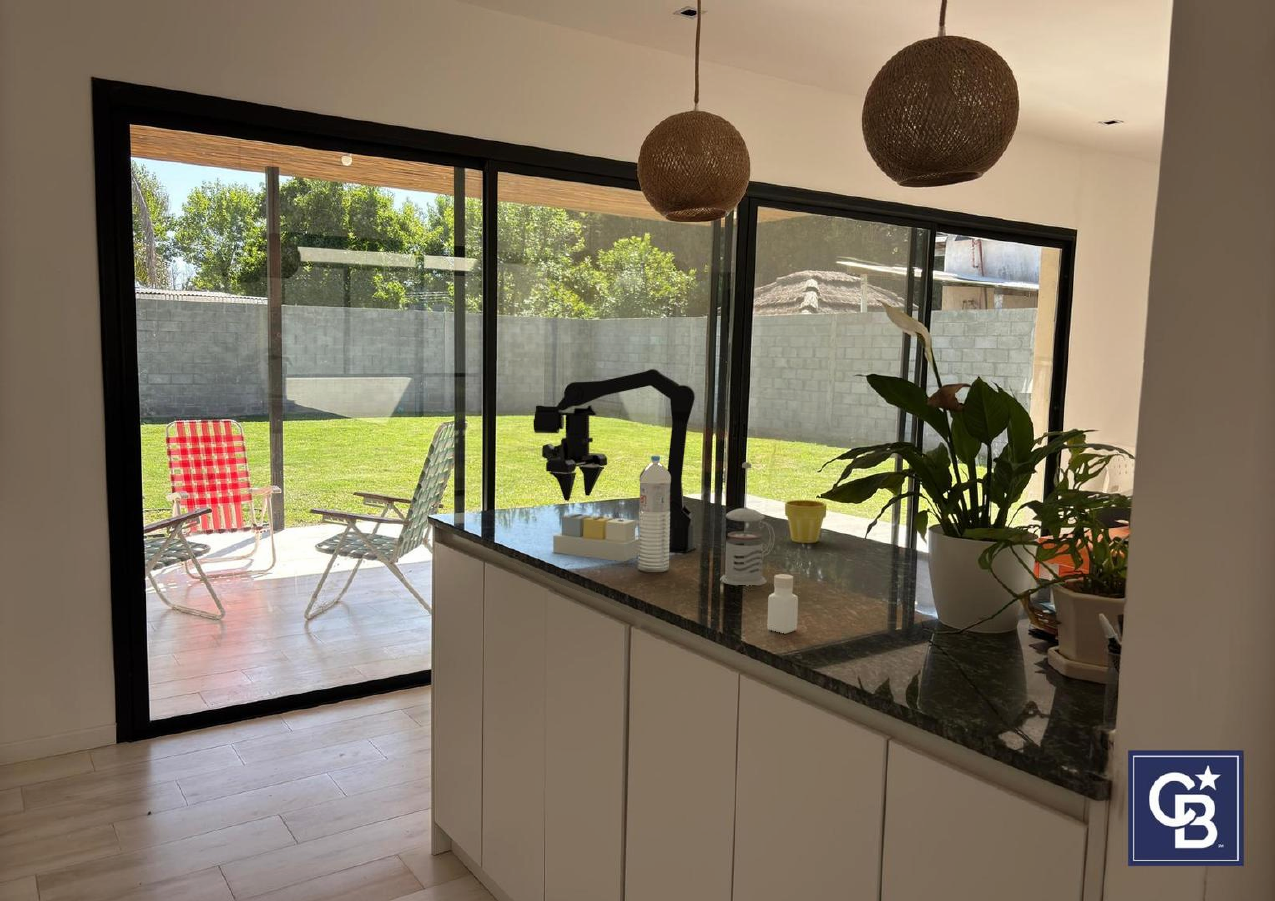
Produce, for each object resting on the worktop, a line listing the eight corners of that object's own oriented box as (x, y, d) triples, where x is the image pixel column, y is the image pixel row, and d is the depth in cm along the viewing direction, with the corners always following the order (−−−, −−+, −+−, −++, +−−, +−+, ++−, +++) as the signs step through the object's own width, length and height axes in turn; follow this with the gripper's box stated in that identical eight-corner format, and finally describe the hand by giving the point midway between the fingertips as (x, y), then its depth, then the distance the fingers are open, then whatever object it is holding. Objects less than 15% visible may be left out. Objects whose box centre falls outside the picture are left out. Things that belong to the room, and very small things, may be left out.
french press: (712, 576, 200) (715, 460, 197) (760, 572, 204) (764, 458, 201) (732, 587, 190) (736, 465, 188) (782, 583, 195) (787, 464, 192)
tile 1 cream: (635, 541, 218) (635, 519, 218) (624, 545, 214) (625, 522, 213) (616, 539, 221) (616, 517, 220) (605, 542, 216) (606, 520, 216)
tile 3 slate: (590, 536, 224) (590, 514, 223) (579, 539, 219) (579, 517, 219) (572, 534, 226) (572, 512, 225) (561, 537, 222) (561, 515, 221)
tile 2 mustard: (612, 538, 221) (612, 517, 220) (602, 542, 217) (602, 520, 216) (594, 536, 223) (594, 515, 223) (583, 540, 219) (583, 518, 218)
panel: (642, 554, 220) (642, 537, 220) (624, 561, 212) (624, 544, 212) (572, 545, 229) (573, 529, 228) (553, 552, 221) (553, 535, 220)
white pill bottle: (798, 630, 162) (800, 576, 161) (785, 635, 159) (787, 580, 158) (778, 625, 164) (780, 572, 163) (765, 630, 161) (767, 576, 160)
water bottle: (666, 574, 201) (668, 458, 198) (634, 572, 202) (636, 457, 200) (671, 567, 207) (673, 455, 205) (641, 565, 209) (643, 453, 206)
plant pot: (795, 545, 233) (797, 506, 232) (776, 537, 243) (778, 500, 242) (832, 543, 236) (834, 505, 235) (812, 535, 246) (813, 499, 245)
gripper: (570, 429, 237) (570, 490, 239) (527, 435, 221) (527, 500, 223) (608, 431, 232) (608, 494, 233) (566, 437, 216) (566, 504, 217)
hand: (577, 497), depth 227 cm, fingers open, 9 cm apart
